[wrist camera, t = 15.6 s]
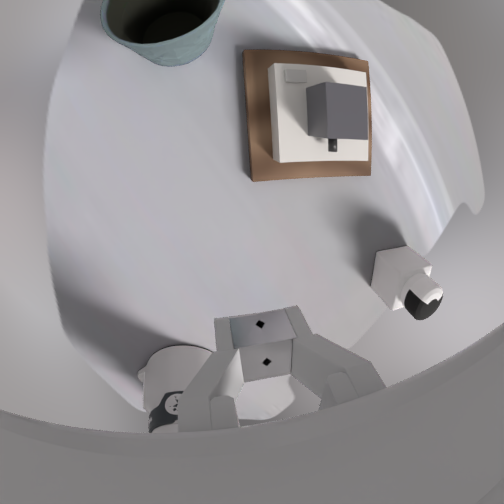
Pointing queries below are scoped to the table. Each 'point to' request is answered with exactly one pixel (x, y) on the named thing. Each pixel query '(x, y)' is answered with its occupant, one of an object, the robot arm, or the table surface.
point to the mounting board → (261, 117)
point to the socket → (295, 114)
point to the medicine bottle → (406, 282)
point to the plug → (337, 112)
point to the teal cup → (162, 27)
